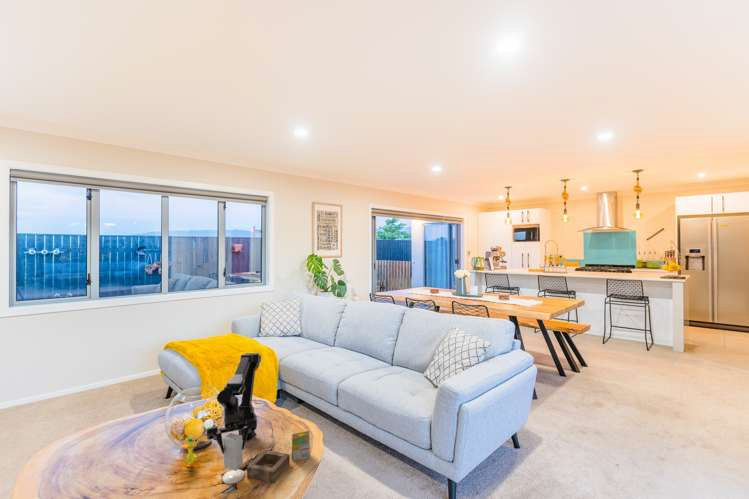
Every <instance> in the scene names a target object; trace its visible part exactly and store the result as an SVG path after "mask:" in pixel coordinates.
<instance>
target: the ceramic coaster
mask: <svg viewBox="0 0 749 499" xmlns="http://www.w3.org/2000/svg"><path fill="white" fill-rule="evenodd" d="M244 477H245V472H244V470H242V469H240V468H239V469H238V470H236V471H235V470H231V469H230V470H229V471H226V472H225V473H224V474H223V475H222V482H223V483H224V484H226V485H233V483H234V484H236V483H239V482H240V481H241V480H243V479H244Z"/></svg>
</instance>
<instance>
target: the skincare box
mask: <svg viewBox="0 0 749 499" xmlns="http://www.w3.org/2000/svg"><path fill="white" fill-rule="evenodd" d="M222 441H223V448H224V454H223V469H228V470H230V471H231V470H235V471H236V470H238V469H240V468H241V467H243V465H244V456H243V455H244V454H243V453H244V450H243V446H242V445H243V440H242V435H239V434H237V433H231V432H229V434H228V435H226V436H225V437H222Z"/></svg>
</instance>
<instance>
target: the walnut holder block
mask: <svg viewBox="0 0 749 499" xmlns="http://www.w3.org/2000/svg"><path fill="white" fill-rule="evenodd" d="M290 457H291V456H290V454H289V453H284V452H279V451H273V450H267V449H263V450H262V452H260V453H259V454H258V455H257V456H256V458H254V459H253V460H252V461H251V462H250V463H249V464H248V465H247V466H246V478H247V479H248V480H249V479H250V480H255V481H260V482H265V483H269V484H275V483H276V482H277V481H278V479H279V478H280V477H282V475H283V474H284V473H285V471H286V470H287V469H288V468H289V467H290V466H291V464H290V462H291V460H290V459H291V458H290ZM266 465H270V466H272V467H268V466H266Z"/></svg>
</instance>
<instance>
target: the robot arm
mask: <svg viewBox="0 0 749 499" xmlns="http://www.w3.org/2000/svg"><path fill="white" fill-rule="evenodd" d="M261 362H262V355H260V353H259V352H253V353H251V352H249V353H248V352H247V353H243V354H241V355H240V361H239V363H238V366H237V368H236V370H235V372H234V375H233V376H232V377H231V378H229V379H228V381H227V382H226V384H225V385H224V387H223V389H222V390H221V391H219V393H218V394H217V396H216V400H217V402H218V403H219V405H220V406H221V407H222V408H223V413H224V415H223V416H224V417H223V418H224V420H223V423H224V427H221V428H219V426H218V425H217V426H211V427H208V428H207V429H206V439H207V440H213V441H216V443H217V444H218V445H219V448H220V451H221V453H222V455H224V445H223V436H222V434H226V433H231V432H236V431H238V435H242V446H243V451H244V449H245V446H246V442H247V441H250V440H251V439H252V438H253V437H254V436H256V435H257V432H256V431H255V430H257V427H258V421H257V420H258V416H257V415H256V412H255V408H254V406H253V403H252V401H253V392H254V387H255V386H254V385H255V377H256V376H255V375H256V372H257V370H258V369H259V367H260V363H261ZM237 396H242V397H241V403H240V402H239V398H238V397H237ZM239 403H240V404H239Z"/></svg>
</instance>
